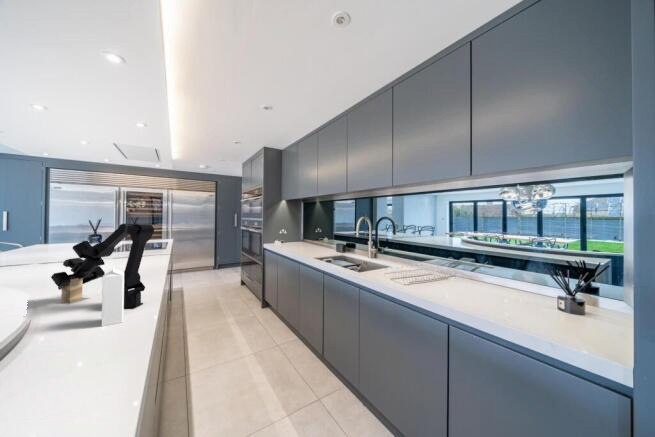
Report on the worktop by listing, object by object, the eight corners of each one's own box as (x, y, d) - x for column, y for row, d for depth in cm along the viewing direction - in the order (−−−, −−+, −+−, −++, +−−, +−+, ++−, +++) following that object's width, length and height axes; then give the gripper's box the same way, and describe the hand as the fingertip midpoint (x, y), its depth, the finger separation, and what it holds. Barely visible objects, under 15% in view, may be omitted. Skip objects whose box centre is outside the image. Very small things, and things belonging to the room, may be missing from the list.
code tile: (90, 299, 120) (90, 298, 120) (68, 305, 111) (68, 304, 111) (74, 298, 121) (74, 296, 121) (51, 304, 112) (51, 303, 112)
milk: (101, 326, 90) (101, 268, 90) (104, 321, 95) (104, 266, 95) (122, 322, 94) (123, 267, 94) (124, 317, 98) (124, 264, 98)
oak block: (82, 299, 118) (82, 274, 118) (69, 302, 113) (70, 276, 113) (74, 298, 119) (74, 273, 119) (61, 301, 114) (61, 275, 114)
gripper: (100, 250, 125) (83, 270, 126) (54, 255, 106) (34, 279, 108) (112, 266, 123) (95, 286, 125) (68, 274, 105) (48, 297, 107)
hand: (69, 286), depth 116 cm, fingers open, 8 cm apart
